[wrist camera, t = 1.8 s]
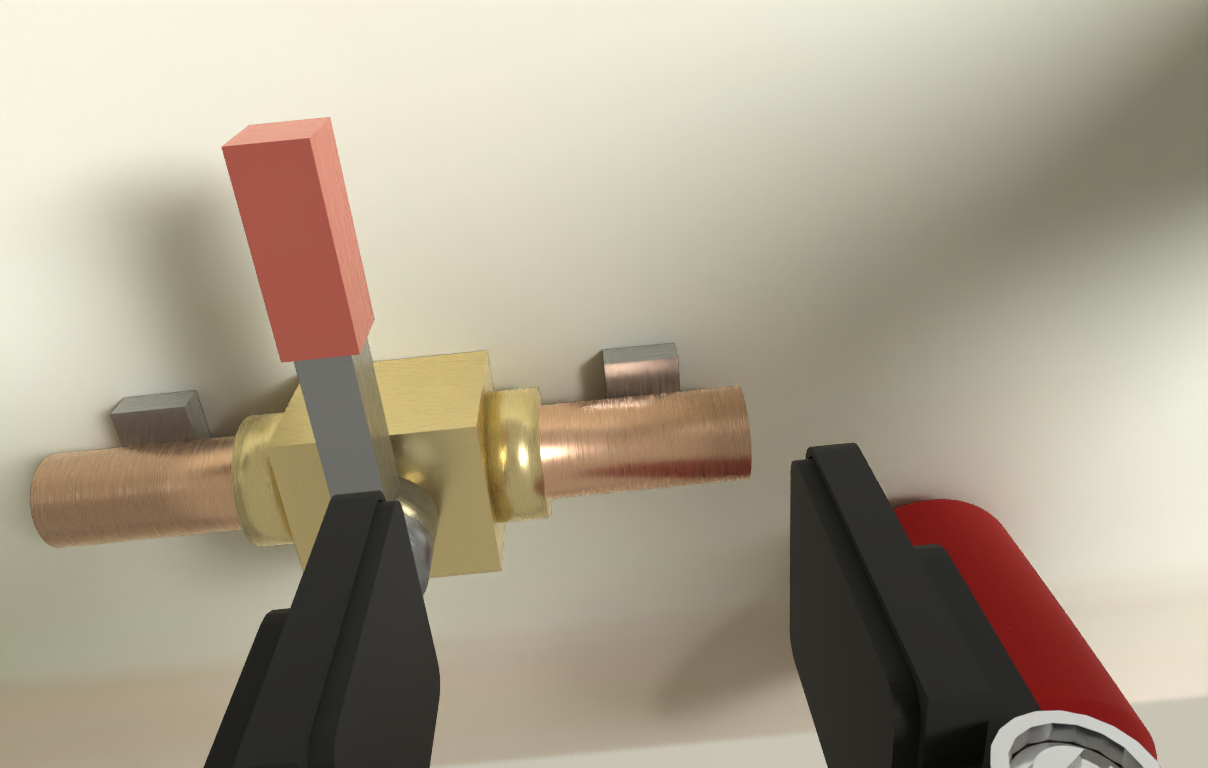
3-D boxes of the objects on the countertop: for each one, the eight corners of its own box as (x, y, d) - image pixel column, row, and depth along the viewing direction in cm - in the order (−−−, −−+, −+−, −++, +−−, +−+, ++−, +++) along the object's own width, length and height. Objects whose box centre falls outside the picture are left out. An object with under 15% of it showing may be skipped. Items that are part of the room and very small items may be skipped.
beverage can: (899, 652, 38) (1032, 944, 28) (792, 564, 36) (892, 845, 25) (1038, 554, 36) (1238, 827, 26) (934, 453, 34) (1107, 708, 23)
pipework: (727, 326, 31) (756, 398, 27) (731, 459, 34) (758, 545, 29) (65, 392, 31) (-15, 475, 27) (117, 520, 34) (51, 615, 29)
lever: (446, 553, 28) (437, 611, 26) (347, 563, 28) (329, 622, 26) (355, 112, 22) (332, 138, 20) (228, 125, 22) (192, 151, 20)
